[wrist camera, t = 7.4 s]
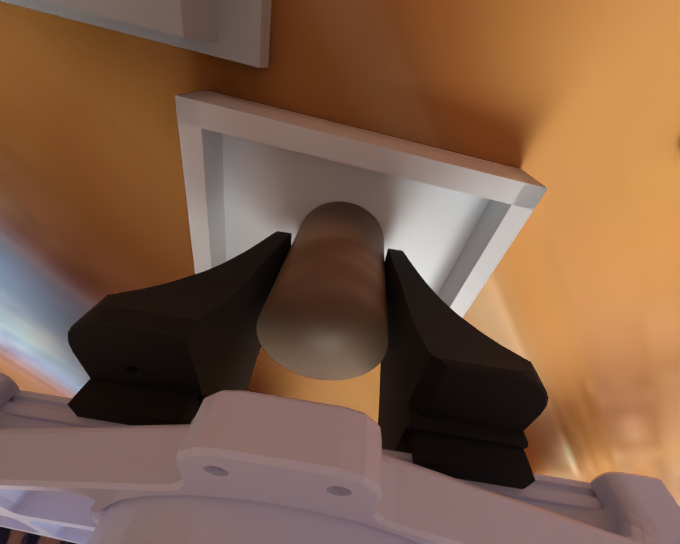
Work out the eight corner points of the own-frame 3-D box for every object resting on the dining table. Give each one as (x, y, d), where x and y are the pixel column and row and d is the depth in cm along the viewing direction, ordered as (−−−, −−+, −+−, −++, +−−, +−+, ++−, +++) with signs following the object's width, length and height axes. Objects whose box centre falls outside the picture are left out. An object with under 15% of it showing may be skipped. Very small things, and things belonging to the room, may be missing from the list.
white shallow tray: (521, 168, 12) (547, 188, 10) (428, 329, 17) (434, 360, 15) (207, 89, 11) (174, 95, 9) (217, 282, 17) (198, 308, 15)
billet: (395, 213, 13) (407, 308, 8) (370, 283, 15) (368, 390, 10) (304, 192, 12) (259, 275, 8) (294, 266, 15) (254, 365, 10)
